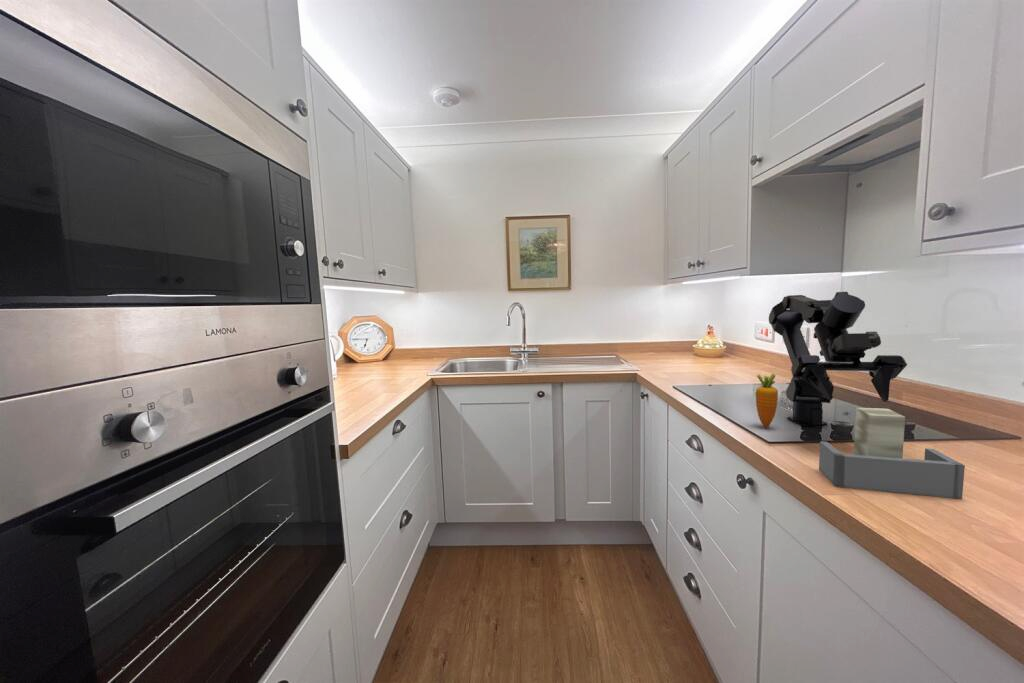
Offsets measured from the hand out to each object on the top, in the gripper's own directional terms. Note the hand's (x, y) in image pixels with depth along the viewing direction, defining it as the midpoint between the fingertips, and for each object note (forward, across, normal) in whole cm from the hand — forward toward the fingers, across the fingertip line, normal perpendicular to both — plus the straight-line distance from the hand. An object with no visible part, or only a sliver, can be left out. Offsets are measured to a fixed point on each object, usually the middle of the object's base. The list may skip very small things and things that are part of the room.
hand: (858, 399), depth 77 cm
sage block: (+15, 0, +4) cm, 15 cm away
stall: (+17, 0, +2) cm, 17 cm away
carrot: (-3, -12, +22) cm, 25 cm away
